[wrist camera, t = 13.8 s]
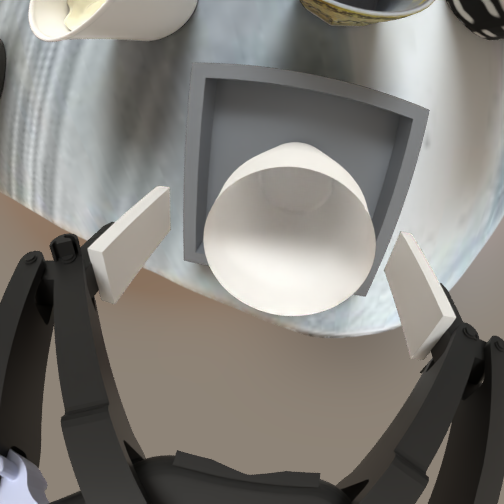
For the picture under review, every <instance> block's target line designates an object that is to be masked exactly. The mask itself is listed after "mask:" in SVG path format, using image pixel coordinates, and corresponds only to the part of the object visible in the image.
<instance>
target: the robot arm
mask: <svg viewBox="0 0 504 504" xmlns="http://www.w3.org/2000/svg"><path fill="white" fill-rule="evenodd" d="M4 75H5V49H4V45H3V42H2V40H1V39H0V96H1V92H2V87H3V82H4ZM170 230H171V223H170V187H163V186H157V187H156V188H154V189H153V190H152V191H151V192H150V193H148V194H147V195H146V196H145V197H144V198H142V199H141V200H140V201H139V202H138V203H137V204H135V205H134V206H133V207H132V208H131V209H130V210H128V211H127V212H126V213H125V214H124V215H123V216H122V217H121V218H119V219H118V220H117V221H116V222H111V223H109V224H107V225H105V226H103V227H102V228H101V229H100V230H99V231H98V232H97V233H95V234H94V235H93V236H92V237H91V238H90V239H89V240H88V241H87V242H86V243H85V244H84V245H83V246H82V247H81V248H80V245H79V241H78V237H77V236H76V235H75V234H64V235H61V236H58V237H57V238H55V239H54V240H53V241H52V242H51V244H50V249H51V252H52V255H53V259H54V261H45V260H44V257H43V254H42V252H40V251H33V252H29V253H27V254H26V255H24V256H23V257H22V258H21V260H20V261H19V263H18V265H17V267H16V269H15V271H14V274H13V276H12V278H11V280H10V282H9V284H8V286H7V288H6V291H5V293H4V296H3V298H2V300H1V303H0V504H415V503H416V501H417V500H418V498H419V497H420V495H421V494H422V492H423V491H424V489H425V488H426V486H427V483H428V481H429V477H428V476H427V475H426V471H427V469H428V467H429V465H430V463H431V462H432V460H433V458H434V456H435V454H436V453H437V451H438V449H439V447H440V445H441V443H442V441H443V439H444V437H445V435H446V433H447V431H448V428H449V426H450V423H451V422H452V425H451V429H450V434H449V438H448V443H447V446H446V451H445V454H444V458H443V461H442V465H441V468H440V471H439V474H438V477H437V480H436V483H435V486H434V489H433V491H432V494H431V497H430V499H429V502H428V504H497V503H498V499H499V495H500V491H501V487H502V482H503V477H504V341H503V340H502V339H501V338H499V337H498V336H492V337H491V338H490V340H489V341H488V342H485V341H482V340H480V339H479V336H478V333H477V331H476V330H475V329H474V328H473V327H472V326H471V325H469V324H468V323H464V322H463V321H462V319H461V317H460V315H459V312H458V310H457V308H456V306H455V305H454V302H453V300H452V299H451V296H450V294H449V292H448V290H447V289H446V288H445V287H444V286H443V285H442V283H439V281H438V279H437V277H436V275H435V273H434V272H433V270H432V268H431V266H430V264H429V263H428V261H427V259H426V257H425V256H424V254H423V252H422V250H421V249H420V247H419V245H418V244H417V242H416V240H415V239H414V237H413V235H412V234H410V233H406V232H402V231H400V234H399V236H398V239H397V241H396V243H395V246H394V248H393V251H392V253H391V255H390V258H389V260H388V262H387V264H386V267H385V269H384V272H385V274H386V277H387V280H388V283H389V286H390V289H391V292H392V295H393V298H394V301H395V304H396V308H397V311H398V314H399V317H400V321H401V324H402V328H403V331H404V335H405V339H406V342H407V346H408V350H409V354H410V358H411V359H420V360H424V359H425V357H426V356H427V355H428V354H429V353H430V351H431V353H432V357H433V358H432V359H431V360H430V361H429V363H428V364H427V365H426V366H425V367H424V368H423V370H422V371H421V372H420V373H423V374H422V375H421V377H420V379H419V381H418V382H417V384H416V386H415V388H414V389H413V391H412V393H411V394H410V396H409V397H408V399H407V401H406V402H405V404H404V405H403V407H402V408H401V410H400V411H399V413H398V414H397V416H396V417H395V419H394V420H393V422H392V423H391V424H390V426H389V427H388V429H387V430H386V431H385V433H384V434H383V435H382V437H381V438H380V439H379V441H378V442H377V443H376V445H375V446H374V447H373V448H372V450H371V451H370V452H369V453H368V455H367V456H366V457H365V458H364V459H363V460H362V462H361V463H360V464H359V465H358V466H357V467H356V469H355V470H354V471H353V472H352V473H351V474H349V475H348V476H347V477H345V478H344V479H343V480H342V481H340V482H339V483H338V484H337V485H336V486H335V485H333V484H331V483H329V482H326V481H324V480H321V479H320V473H305V472H290V471H285V472H276V473H268V474H256V475H247V474H243V473H241V472H239V471H236V470H234V469H232V468H229V467H227V466H225V465H223V464H221V463H218V462H216V461H214V460H212V459H208V458H203V457H199V456H196V455H192V454H188V453H184V452H181V451H178V450H177V452H176V456H172V455H167V456H156V457H151V458H147V459H146V458H145V455H144V453H143V451H142V449H141V447H140V445H139V444H138V442H137V440H136V438H135V436H134V434H133V432H132V429H131V427H130V424H129V422H128V419H127V416H126V414H125V411H124V408H123V405H122V402H121V399H120V396H119V394H118V390H117V387H116V384H115V380H114V377H113V374H112V370H111V367H110V363H109V359H108V356H107V352H106V348H105V344H104V339H103V335H102V331H101V326H100V321H99V316H98V311H97V306H96V301H95V298H94V295H95V294H96V293H97V291H98V290H99V294H100V297H101V300H103V301H106V302H109V303H112V304H116V302H117V301H118V300H119V298H120V297H121V295H122V294H123V293H124V291H125V290H126V288H127V287H128V285H129V284H130V283H131V281H132V280H133V279H134V277H135V276H136V274H137V273H138V272H139V270H140V269H141V268H142V266H143V265H144V264H145V262H146V261H147V260H148V258H149V257H150V256H151V254H152V253H153V252H154V251H155V249H156V248H157V247H158V245H159V244H160V243H161V241H162V240H163V239H164V238H165V236H166V235H167V234H168V233H169V231H170ZM53 326H54V329H55V344H56V355H57V364H58V372H59V379H60V385H61V391H62V397H63V402H64V407H65V415H64V416H62V417H61V427H62V432H63V435H64V440H65V443H66V447H67V451H68V454H69V458H70V461H71V464H72V467H73V470H74V473H75V476H76V479H77V481H78V484H79V487H80V490H81V491H79V492H76V493H74V494H71V495H69V496H67V497H64V498H61V499H59V500H57V501H54V502H51V503H49V501H48V500H47V498H46V495H45V492H44V491H45V490H46V489H47V482H46V480H45V478H44V477H43V476H42V473H41V472H40V470H39V469H38V468H39V462H40V453H41V420H42V403H43V391H44V381H45V372H46V366H47V359H48V353H49V347H50V342H51V337H52V332H53ZM483 380H484V381H483ZM482 381H483V383H482Z"/></svg>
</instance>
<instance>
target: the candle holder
mask: <svg viewBox="0 0 504 504" xmlns="http://www.w3.org/2000/svg"><path fill="white" fill-rule="evenodd" d="M197 1H198V0H30V5H29V24H30V27H31V30H32V32H33V33H34V35H35V36H36V37H37V38H39V39H41V40H43V41H47V42H56V41H61V40H72V39H116V40H134V41H153V40H158V39H161V38H164V37H166V36H168V35H170V34H172V33H174V32H175V31H177V30H178V29H179V28H181V27H182V26H183V25H184V24H185V23H186V22H187V21H188V19H189V18H190V17H191V15H192V14H193V12H194V10H195V8H196V5H197Z"/></svg>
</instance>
